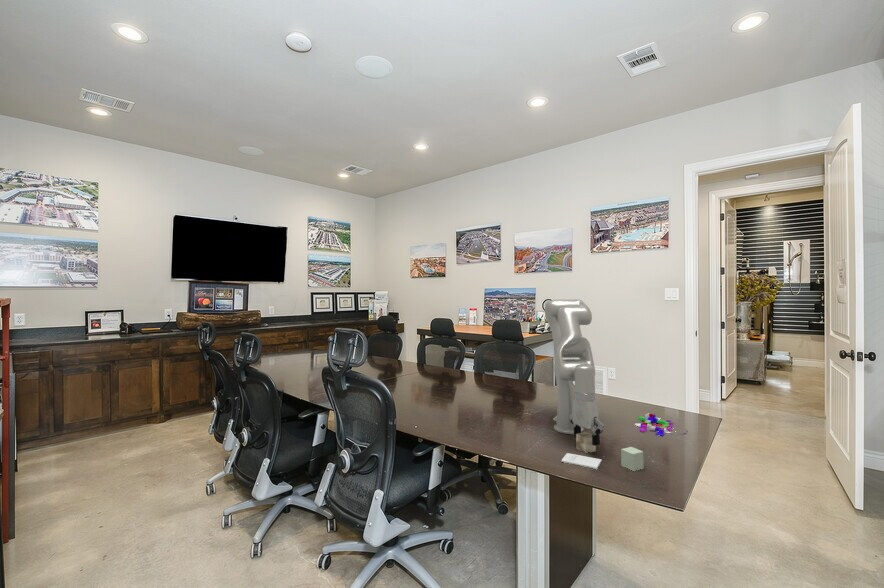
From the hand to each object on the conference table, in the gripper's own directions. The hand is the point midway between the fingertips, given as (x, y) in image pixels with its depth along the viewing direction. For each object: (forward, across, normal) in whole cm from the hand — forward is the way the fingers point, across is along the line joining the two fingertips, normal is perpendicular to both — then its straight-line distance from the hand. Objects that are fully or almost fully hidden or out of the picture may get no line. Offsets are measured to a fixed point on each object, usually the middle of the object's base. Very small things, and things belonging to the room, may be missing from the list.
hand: (586, 441), depth 154 cm
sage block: (+4, +18, +4) cm, 19 cm away
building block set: (+4, -6, +50) cm, 50 cm away
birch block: (+4, -1, 0) cm, 4 cm away
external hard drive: (+5, +7, -9) cm, 13 cm away
